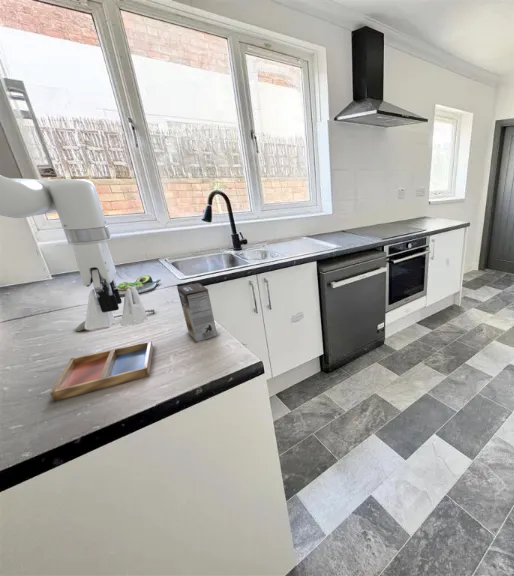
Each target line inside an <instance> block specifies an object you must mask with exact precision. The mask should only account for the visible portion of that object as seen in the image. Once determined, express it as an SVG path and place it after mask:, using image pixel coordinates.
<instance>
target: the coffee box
mask: <svg viewBox="0 0 514 576" xmlns="http://www.w3.org/2000/svg"><path fill="white" fill-rule="evenodd" d="M176 289H177V293H178V296H179V301H180V305H181V308H182V312H183V317H184V320H185V325H186V328H187V331H188V334H189V335H190V337H192V338H193V340H194V341H195V342H196V343H198V342H202V341H204V340H208V339H210V338H213V337H217V336H218V331H217V328H216V323H215V317H214V312H213V307H212V302H211V298H210V292H209V289H208V288H206V287H205V286H204V285H202V284H201V283H200V282H196V283H191V284H190V283H189V284H184V285H179V286H177V287H176Z"/></svg>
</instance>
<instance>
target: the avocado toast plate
mask: <svg viewBox="0 0 514 576" xmlns="http://www.w3.org/2000/svg"><path fill="white" fill-rule="evenodd" d="M161 281H162V279H157V280H156V279H153V278H152V277H151V275H148V274H147V275H142V276H140V277H138V278H137V279H136V280H135V281H127V282H126V281H124V282H122V283H118V284H116V286H117V288H116V289H118V291H119V294H120V297H125V293H126V291H127V289H130V290H131V289H132V287H135V288H136V290H137V291H138V294H139V295H140V294H142V293H145V292H148V291H151V290H153V289H154V288H155V287H156V286H157V285H158V284H159V282H161Z"/></svg>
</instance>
